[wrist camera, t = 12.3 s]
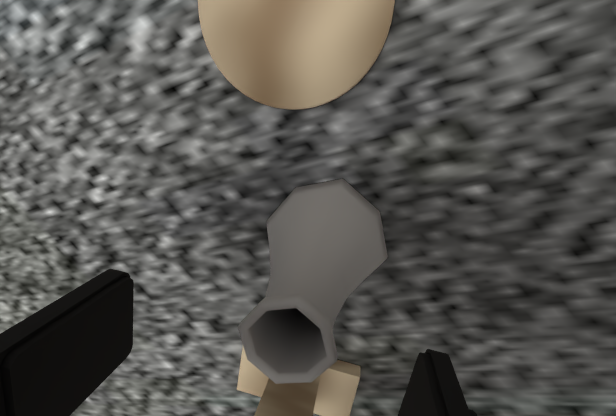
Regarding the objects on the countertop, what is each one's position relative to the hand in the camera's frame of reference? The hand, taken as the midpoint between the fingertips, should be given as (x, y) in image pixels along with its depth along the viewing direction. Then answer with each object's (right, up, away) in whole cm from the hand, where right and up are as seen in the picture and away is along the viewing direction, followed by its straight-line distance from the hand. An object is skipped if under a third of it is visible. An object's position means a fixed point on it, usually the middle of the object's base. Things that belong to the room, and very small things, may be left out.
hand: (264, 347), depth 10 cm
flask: (+3, +3, +10) cm, 11 cm away
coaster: (+1, +15, +7) cm, 16 cm away
